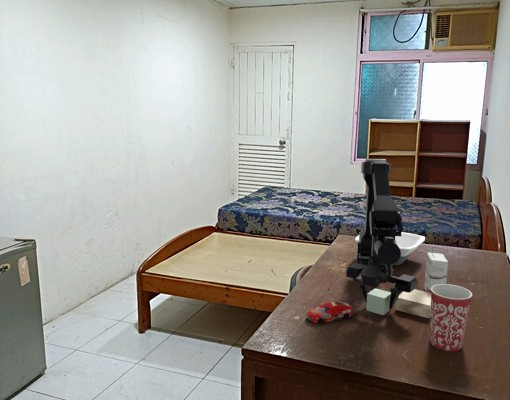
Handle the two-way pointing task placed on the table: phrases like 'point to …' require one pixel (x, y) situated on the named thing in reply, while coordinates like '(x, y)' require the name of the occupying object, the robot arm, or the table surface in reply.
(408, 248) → the bowl
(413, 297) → the slab
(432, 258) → the ink box
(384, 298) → the cube
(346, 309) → the race car
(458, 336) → the mug
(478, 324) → the table surface
